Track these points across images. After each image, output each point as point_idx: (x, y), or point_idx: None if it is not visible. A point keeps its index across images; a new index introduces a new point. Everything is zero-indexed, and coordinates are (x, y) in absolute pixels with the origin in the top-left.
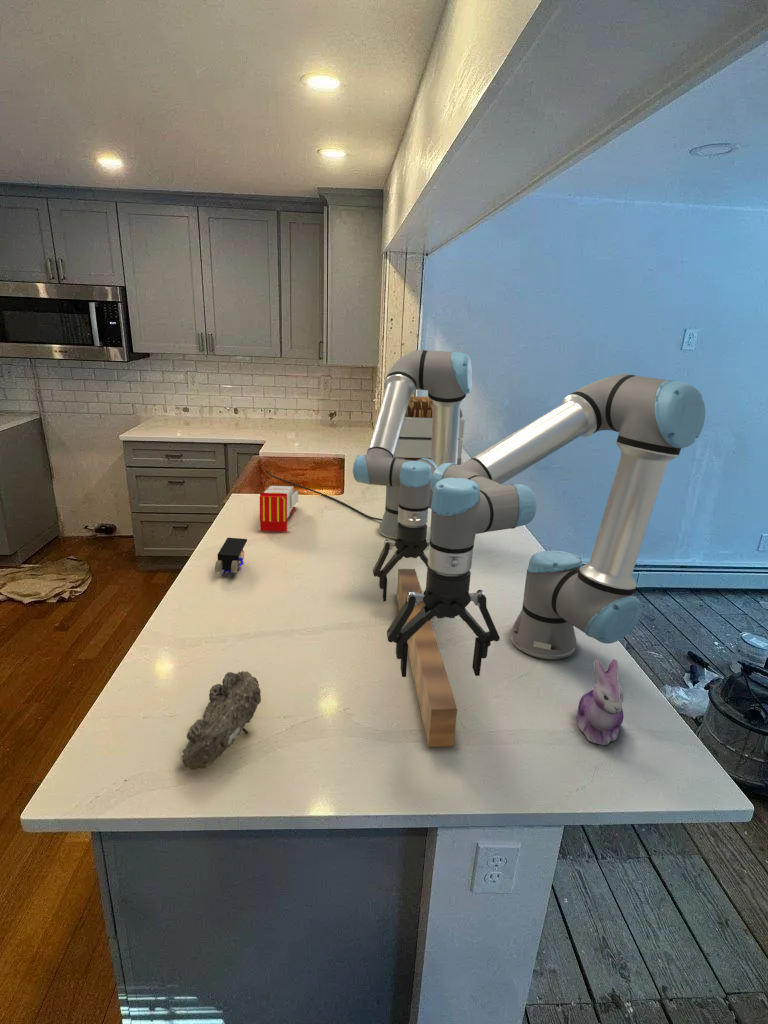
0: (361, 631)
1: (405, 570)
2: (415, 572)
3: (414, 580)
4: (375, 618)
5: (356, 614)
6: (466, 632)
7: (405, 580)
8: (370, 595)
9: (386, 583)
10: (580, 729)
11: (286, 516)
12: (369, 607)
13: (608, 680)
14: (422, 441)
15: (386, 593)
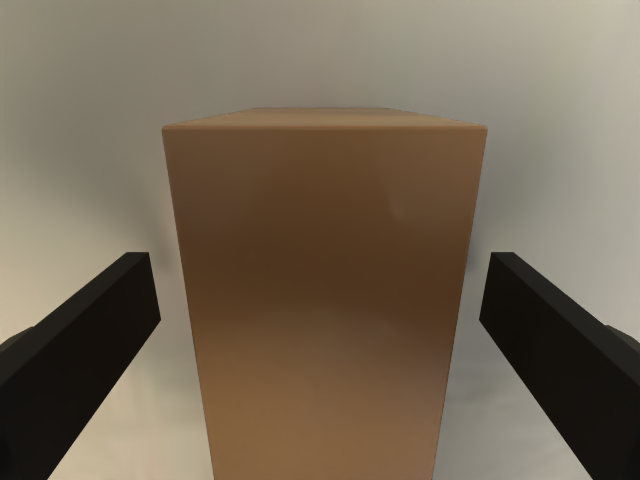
0: (81, 465)
1: (296, 202)
2: (455, 273)
3: (382, 475)
4: (132, 373)
5: None
6: (567, 475)
7: (270, 474)
8: (50, 92)
9: (61, 449)
10: None
11: None
12: (77, 264)
13: None
14: None
15: (128, 364)
